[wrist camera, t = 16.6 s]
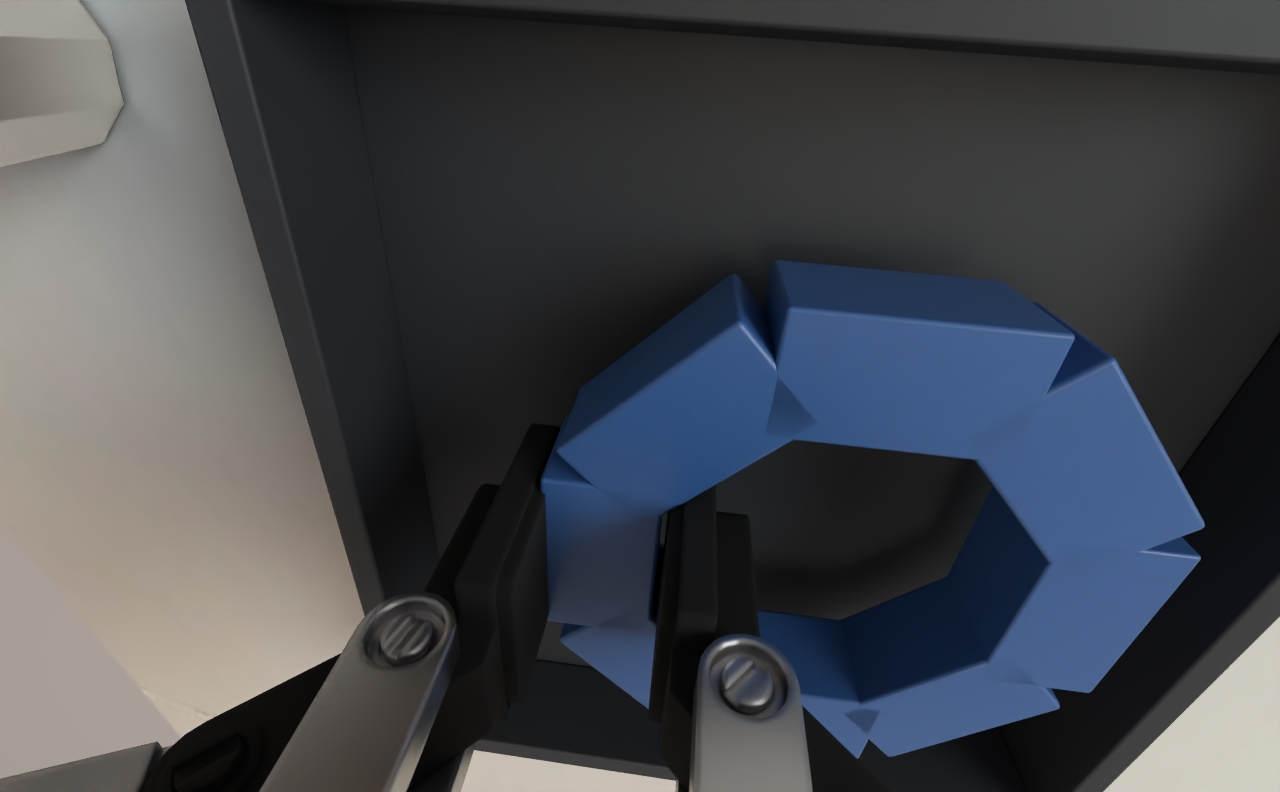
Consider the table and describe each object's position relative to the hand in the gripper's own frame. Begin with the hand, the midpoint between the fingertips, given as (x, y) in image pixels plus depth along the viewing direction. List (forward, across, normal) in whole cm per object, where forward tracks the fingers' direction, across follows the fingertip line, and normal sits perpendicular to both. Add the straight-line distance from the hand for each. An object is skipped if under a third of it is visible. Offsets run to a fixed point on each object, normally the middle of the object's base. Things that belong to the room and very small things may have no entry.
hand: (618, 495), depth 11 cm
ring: (0, -4, 0) cm, 4 cm away
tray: (+2, -3, 0) cm, 4 cm away
